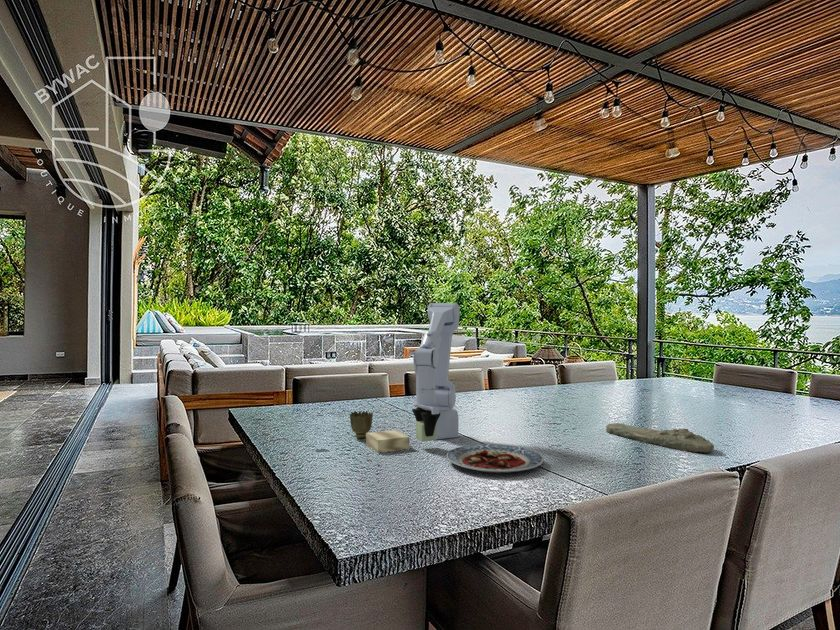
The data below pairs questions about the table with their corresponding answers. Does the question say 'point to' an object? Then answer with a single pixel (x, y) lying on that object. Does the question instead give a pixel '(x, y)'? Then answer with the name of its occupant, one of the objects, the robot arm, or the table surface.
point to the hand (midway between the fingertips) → (425, 434)
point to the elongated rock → (663, 437)
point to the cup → (361, 423)
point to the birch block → (387, 441)
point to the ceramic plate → (495, 458)
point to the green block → (423, 432)
